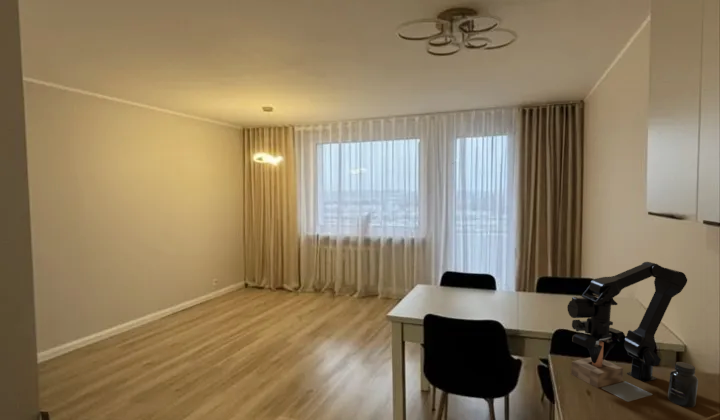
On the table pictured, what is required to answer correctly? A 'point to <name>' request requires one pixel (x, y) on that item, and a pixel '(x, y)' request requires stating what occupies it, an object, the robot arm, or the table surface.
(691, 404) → the supplement bottle
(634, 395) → the mat
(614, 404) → the table surface
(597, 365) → the dowel
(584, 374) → the socket block
